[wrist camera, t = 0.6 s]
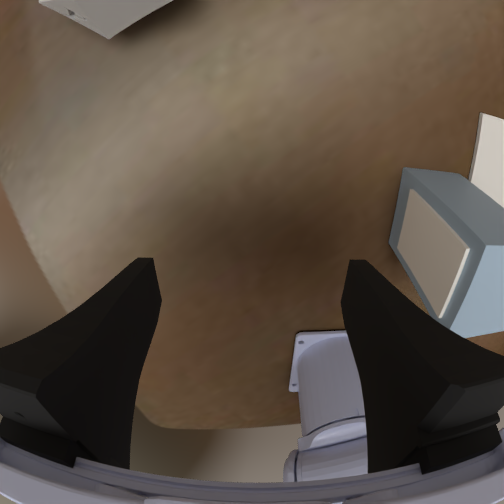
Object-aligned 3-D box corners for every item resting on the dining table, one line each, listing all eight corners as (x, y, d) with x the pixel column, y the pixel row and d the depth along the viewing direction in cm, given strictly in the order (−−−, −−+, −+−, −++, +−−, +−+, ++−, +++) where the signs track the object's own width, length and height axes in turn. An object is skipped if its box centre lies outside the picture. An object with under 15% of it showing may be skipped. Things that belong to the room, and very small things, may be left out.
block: (441, 243, 23) (503, 330, 14) (385, 242, 23) (439, 341, 14) (459, 173, 19) (545, 246, 11) (399, 166, 19) (482, 245, 11)
